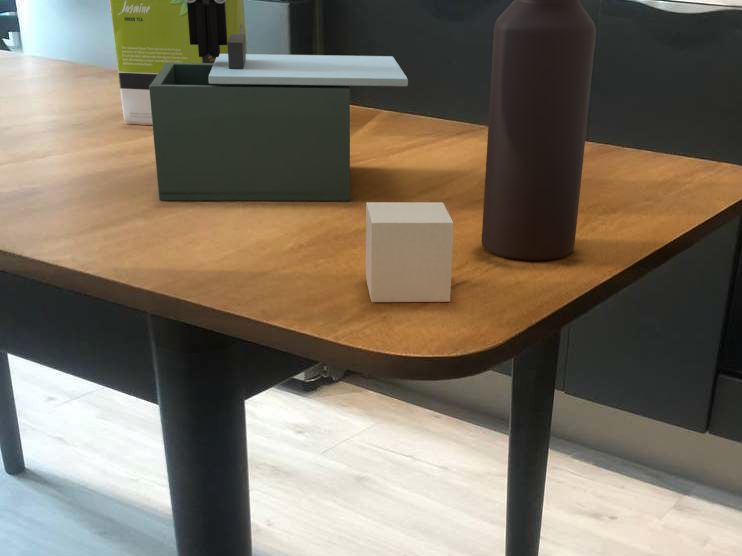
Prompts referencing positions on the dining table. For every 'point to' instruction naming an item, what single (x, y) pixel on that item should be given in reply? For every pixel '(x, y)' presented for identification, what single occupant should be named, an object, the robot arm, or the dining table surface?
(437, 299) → the block
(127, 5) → the tea box
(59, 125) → the dining table surface
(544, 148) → the bottle
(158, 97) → the open storage box
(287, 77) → the sliding lid with knob
